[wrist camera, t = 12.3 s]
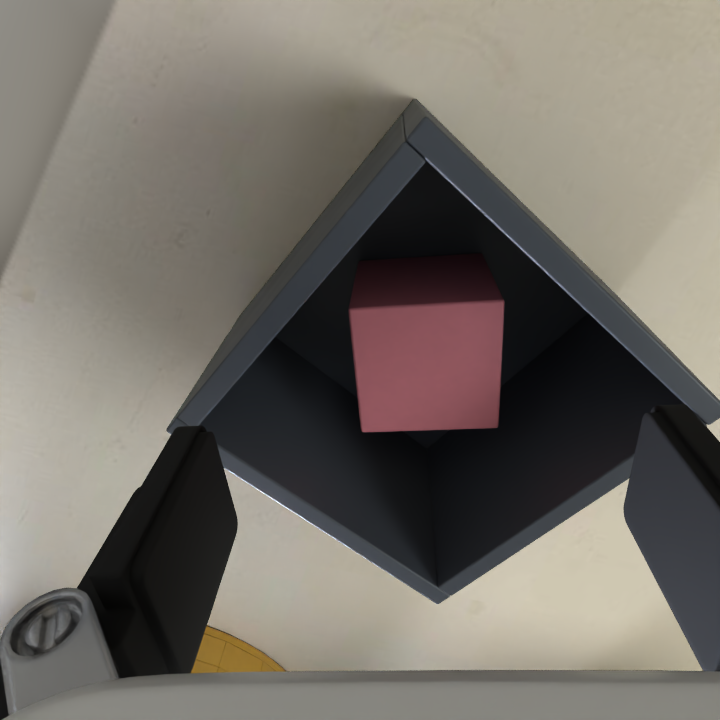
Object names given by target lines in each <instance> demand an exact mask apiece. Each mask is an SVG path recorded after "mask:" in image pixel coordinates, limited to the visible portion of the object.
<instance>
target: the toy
mask: <svg viewBox="0 0 720 720" xmlns="http://www.w3.org/2000/svg"><path fill="white" fill-rule="evenodd" d="M504 303H505V302H504V299H503V297H502V295H501V293H500V291H499V289H498V286H497V284H496V282H495V280H494V278H493V276H492V273H491V271H490V269H489V267H488V265H487V263H486V260H485V258H484V256H483V254H481V253H475V254H460V255H444V256H428V257H413V258H397V259H382V260H366V261H359V262H358V266H357V271H356V276H355V280H354V285H353V290H352V295H351V300H350V304H349V309H348V313H349V322H350V332H351V341H352V351H353V360H354V370H355V379H356V389H357V398H358V408H359V417H360V427H361V431H362V432H392V431H423V430H454V429H485V428H498V425H499V408H500V387H501V366H502V345H503V324H504Z"/></svg>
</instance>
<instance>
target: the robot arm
mask: <svg viewBox="0 0 720 720" xmlns="http://www.w3.org/2000/svg"><path fill="white" fill-rule="evenodd" d="M624 517H625V520H626V523H627V525H628V527H629V529H630V531H631V533H632V535H633V537H634V539H635V541H636V543H637V545H638V546H639V548H640V550H641V552H642V554H643V556H644V558H645V560H646V562H647V564H648V566H649V568H650V570H651V571H652V573H653V575H654V577H655V579H656V581H657V583H658V585H659V587H660V589H661V591H662V593H663V595H664V597H665V598H666V600H667V602H668V604H669V606H670V608H671V610H672V612H673V614H674V616H675V618H676V620H677V622H678V623H679V625H680V627H681V629H682V631H683V633H684V635H685V637H686V639H687V641H688V643H689V645H690V647H691V649H692V650H693V652H694V654H695V656H696V658H697V660H698V662H699V664H700V666H701V668H702V669H703V671H663V670H436V671H292V672H225V673H191V671H192V669H193V666H194V663H195V660H196V657H197V654H198V651H199V647H200V644H201V641H202V638H203V635H204V632H205V629H206V626H207V623H208V620H209V617H210V614H211V610H212V607H213V604H214V601H215V598H216V595H217V592H218V589H219V586H220V583H221V580H222V577H223V574H224V570H225V567H226V564H227V561H228V558H229V555H230V552H231V549H232V546H233V543H234V540H235V537H236V533H237V526H238V522H237V515H236V512H235V508H234V504H233V501H232V497H231V493H230V490H229V486H228V483H227V479H226V475H225V472H224V468H223V464H222V461H221V457H220V454H219V450H218V446H217V443H216V439H215V436H214V434H213V432H211V431H210V432H207V431H206V428H205V427H204V426H202V425H201V426H179V427H176V429H175V430H174V431H173V433H172V435H171V436H170V438H169V440H168V442H167V443H166V445H165V447H164V448H163V450H162V452H161V453H160V455H159V457H158V459H157V460H156V462H155V464H154V465H153V467H152V469H151V471H150V472H149V474H148V476H147V477H146V479H145V481H144V482H143V484H142V486H141V487H139V488H137V490H136V491H135V492H134V493H133V495H132V497H131V498H130V500H129V502H128V503H127V505H126V507H125V508H124V510H123V512H122V513H121V515H120V517H119V518H118V520H117V522H116V523H115V525H114V527H113V529H112V530H111V532H110V534H109V535H108V537H107V539H106V540H105V542H104V544H103V545H102V547H101V549H100V550H99V552H98V554H97V555H96V557H95V559H94V560H93V562H92V564H91V565H90V567H89V569H88V570H87V572H86V574H85V576H84V577H83V579H82V581H81V582H80V584H79V586H78V587H77V588H62V589H58V590H53V591H51V592H48V593H46V594H44V595H41V596H39V597H38V598H36V599H34V600H33V601H31V602H30V603H28V604H27V605H25V606H24V607H23V608H22V609H21V610H20V611H19V612H18V613H17V614H16V615H14V617H13V618H12V619H11V621H10V622H9V623H8V625H7V626H6V627H5V629H4V632H3V634H2V636H1V638H0V720H720V442H719V441H718V440H717V438H716V437H715V436H714V435H713V434H712V433H711V432H710V430H709V429H708V428H707V427H706V426H705V425H704V424H703V422H702V421H701V420H700V419H699V418H698V417H697V416H696V414H695V413H694V412H693V411H692V410H691V409H690V408H689V407H688V406H687V405H684V404H680V405H657V406H654V407H653V408H652V410H651V413H645V414H644V415H643V418H642V422H641V427H640V432H639V436H638V441H637V446H636V451H635V455H634V460H633V465H632V470H631V474H630V479H629V484H628V488H627V493H626V498H625V503H624Z"/></svg>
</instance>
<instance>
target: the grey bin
mask: <svg viewBox="0 0 720 720" xmlns="http://www.w3.org/2000/svg"><path fill="white" fill-rule="evenodd" d="M475 253H481V254H483V256H484V258H485V260H486V263H487V265H488V267H489V269H490V271H491V273H492V276H493V278H494V280H495V282H496V284H497V286H498V289H499V291H500V293H501V295H502V297H503V299H504V302H505V303H504V324H503V345H502V366H501V387H500V408H499V425H498V428H485V429H454V430H423V431H392V432H362V431H361V427H360V417H359V408H358V398H357V389H356V379H355V370H354V360H353V351H352V341H351V332H350V322H349V313H348V309H349V304H350V300H351V295H352V290H353V285H354V280H355V276H356V271H357V266H358V262H359V261H366V260H382V259H397V258H413V257H428V256H444V255H460V254H475ZM680 404H684V405H687V406H688V407H689V408H690V409H691V410H692V411H693V412H694V413H695V414H696V416H697V417H698V418H699V419H700V420H701V421H702V422H703V424H704V425H705V426H706V424H708V425H709V424H711V423H713V422H714V421H716V420H718V419H719V418H720V400H719V399H718V398H717V397H716V396H715V395H714V394H713V393H712V392H711V391H710V390H709V389H708V388H707V387H706V386H705V385H704V384H703V383H702V382H701V381H700V380H699V379H698V378H697V377H696V376H695V375H694V374H693V373H692V372H691V371H690V370H689V369H688V368H687V367H686V366H685V365H684V364H683V363H682V362H681V360H680V359H679V358H678V357H677V356H676V355H675V354H674V353H673V352H672V351H671V350H670V349H669V348H668V347H667V346H666V345H665V344H664V343H663V342H662V341H661V340H660V339H659V338H658V337H657V336H656V335H655V334H654V333H653V332H652V331H651V330H650V329H649V328H648V327H647V326H646V325H645V324H644V323H643V322H642V321H641V319H640V318H639V317H638V316H637V315H636V314H635V313H634V312H633V311H632V310H631V309H630V308H629V307H628V306H627V305H626V304H625V303H624V302H623V301H622V300H621V299H620V298H619V297H618V296H617V295H616V294H615V293H614V292H613V291H612V290H611V289H610V288H609V287H608V286H607V285H606V284H605V283H604V282H603V281H602V280H601V279H600V278H599V277H598V276H597V275H596V274H595V273H594V272H593V271H592V270H591V269H590V268H588V267H587V266H586V265H585V264H584V263H583V262H582V261H581V260H580V259H579V258H578V257H577V256H576V255H575V254H574V253H573V252H572V251H571V250H570V249H569V248H568V247H567V246H566V245H565V244H564V243H563V242H562V241H561V240H560V239H559V238H558V237H557V236H556V235H555V234H554V233H553V232H552V231H551V230H550V229H549V228H548V227H547V226H546V225H545V224H543V223H542V222H541V221H540V220H539V219H538V218H537V217H536V216H535V215H534V214H533V213H532V212H531V211H530V210H529V209H528V208H527V207H526V206H525V205H524V204H523V203H522V202H521V201H520V200H519V199H518V198H517V197H516V196H515V195H514V194H513V193H512V192H511V191H510V190H509V189H508V188H507V187H506V186H505V185H504V184H503V183H502V182H501V181H500V180H499V179H497V178H496V177H495V176H494V175H493V174H492V173H491V172H490V171H489V170H488V169H487V168H486V167H485V166H484V165H483V164H482V163H481V162H480V161H479V160H478V159H477V158H476V157H475V156H474V155H473V154H472V153H471V152H470V151H469V150H468V149H467V148H466V147H465V146H464V145H463V144H462V143H461V142H460V141H459V140H458V139H457V138H456V137H455V136H454V135H453V134H451V133H450V132H449V131H448V130H447V129H446V128H445V127H444V126H443V125H442V124H441V123H440V122H439V121H438V120H437V119H436V118H435V117H434V116H433V115H432V114H431V113H430V112H429V111H428V110H427V109H426V108H425V107H424V106H423V105H422V104H421V103H420V102H419V101H418V100H417V99H413V100H412V102H411V103H410V104H409V105H408V107H407V108H406V109H405V110H404V112H403V113H402V114H401V115H400V117H399V118H398V119H397V120H396V122H395V123H394V124H393V125H392V127H391V128H390V129H389V130H388V132H387V133H386V134H385V135H384V137H383V138H382V139H381V140H380V142H379V143H378V144H377V145H376V147H375V148H374V149H373V150H372V152H371V153H370V154H369V155H368V156H367V158H366V159H365V160H364V161H363V163H362V164H361V165H360V166H359V168H358V169H357V170H356V171H355V173H354V174H353V175H352V176H351V178H350V179H349V180H348V181H347V183H346V184H345V185H344V186H343V188H342V189H341V190H340V191H339V193H338V194H337V195H336V196H335V198H334V199H333V200H332V201H331V203H330V204H329V205H328V206H327V208H326V209H325V210H324V211H323V213H322V214H321V215H320V216H319V218H318V219H317V220H316V221H315V223H314V224H313V225H312V226H311V228H310V229H309V230H308V231H307V233H306V234H305V235H304V236H303V238H302V239H301V240H300V241H299V243H298V244H297V245H296V246H295V248H294V249H293V250H292V251H291V253H290V254H289V255H288V256H287V258H286V259H285V260H284V261H283V263H282V264H281V265H280V266H279V268H278V269H277V270H276V271H275V273H274V274H273V275H272V276H271V278H270V279H269V280H268V281H267V283H266V284H265V285H264V286H263V288H262V289H261V290H260V291H259V292H258V294H257V295H256V296H255V297H254V299H253V300H252V301H251V302H250V304H249V305H248V306H247V307H246V309H245V310H244V311H243V312H242V314H241V315H240V316H239V318H238V319H237V321H236V322H235V324H234V325H233V327H232V329H231V330H230V332H229V333H228V335H227V336H226V338H225V339H224V341H223V342H222V344H221V346H220V347H219V349H218V350H217V352H216V353H215V355H214V356H213V358H212V359H211V361H210V363H209V364H208V366H207V367H206V369H205V370H204V372H203V373H202V375H201V376H200V378H199V380H198V381H197V383H196V384H195V386H194V387H193V389H192V390H191V392H190V394H189V395H188V397H187V398H186V400H185V401H184V403H183V404H182V406H181V407H180V409H179V411H178V412H177V414H176V415H175V417H174V418H173V420H172V421H171V423H170V424H169V426H168V428H167V430H166V431H167V432H168V433H170V434H171V435H172V433H173V431H174V430H175V429H176V427H179V426H201V425H202V426H204V427H205V428H206V431H207V432H210V431H211V432H213V434H214V436H215V439H216V443H217V446H218V450H219V454H220V457H221V461H222V464H223V468H225V469H226V470H228V471H229V472H231V473H233V474H234V475H236V476H237V477H239V478H240V479H242V480H243V481H245V482H247V483H248V484H250V485H251V486H253V487H254V488H256V489H258V490H259V491H261V492H262V493H264V494H265V495H267V496H269V497H270V498H272V499H273V500H275V501H276V502H278V503H280V504H281V505H283V506H284V507H286V508H287V509H289V510H290V511H292V512H294V513H295V514H297V515H298V516H300V517H301V518H303V519H305V520H306V521H308V522H309V523H311V524H312V525H314V526H316V527H317V528H319V529H320V530H322V531H323V532H325V533H327V534H328V535H330V536H331V537H333V538H334V539H336V540H337V541H339V542H341V543H342V544H344V545H345V546H347V547H348V548H350V549H352V550H353V551H355V552H356V553H358V554H359V555H361V556H363V557H364V558H366V559H367V560H369V561H370V562H372V563H373V564H375V565H377V566H378V567H380V568H381V569H383V570H384V571H386V572H388V573H389V574H391V575H392V576H394V577H395V578H397V579H399V580H400V581H402V582H403V583H405V584H406V585H408V586H410V587H411V588H413V589H414V590H416V591H417V592H419V593H420V594H422V595H424V596H425V597H427V598H428V599H430V600H431V601H433V602H435V603H436V604H439V603H441V602H442V601H444V600H445V599H447V598H448V597H450V595H453V594H455V593H456V592H458V591H459V590H461V589H462V588H464V587H465V586H467V585H468V584H470V583H471V582H473V581H474V580H476V579H477V578H479V577H480V576H482V575H483V574H485V573H486V572H488V571H489V570H491V569H492V568H494V567H495V566H497V565H499V564H500V563H502V562H503V561H505V560H506V559H508V558H509V557H511V556H512V555H514V554H515V553H517V552H518V551H520V550H521V549H523V548H524V547H526V546H527V545H529V544H530V543H532V542H533V541H535V540H536V539H538V538H539V537H541V536H542V535H544V534H545V533H547V532H548V531H550V530H552V529H553V528H555V527H556V526H558V525H559V524H561V523H562V522H564V521H565V520H567V519H568V518H570V517H571V516H573V515H574V514H576V513H577V512H579V511H580V510H582V509H583V508H585V507H586V506H588V505H589V504H591V503H592V502H594V501H595V500H597V499H598V498H600V497H601V496H603V495H605V494H606V493H608V492H609V491H611V490H612V489H614V488H615V487H617V486H618V485H620V484H621V483H623V482H624V481H626V480H627V479H629V478H630V474H631V470H632V465H633V460H634V455H635V451H636V446H637V441H638V436H639V432H640V427H641V422H642V418H643V415H644V414H645V413H651V410H652V408H653V407H654V406H657V405H680ZM706 427H707V426H706Z"/></svg>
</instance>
